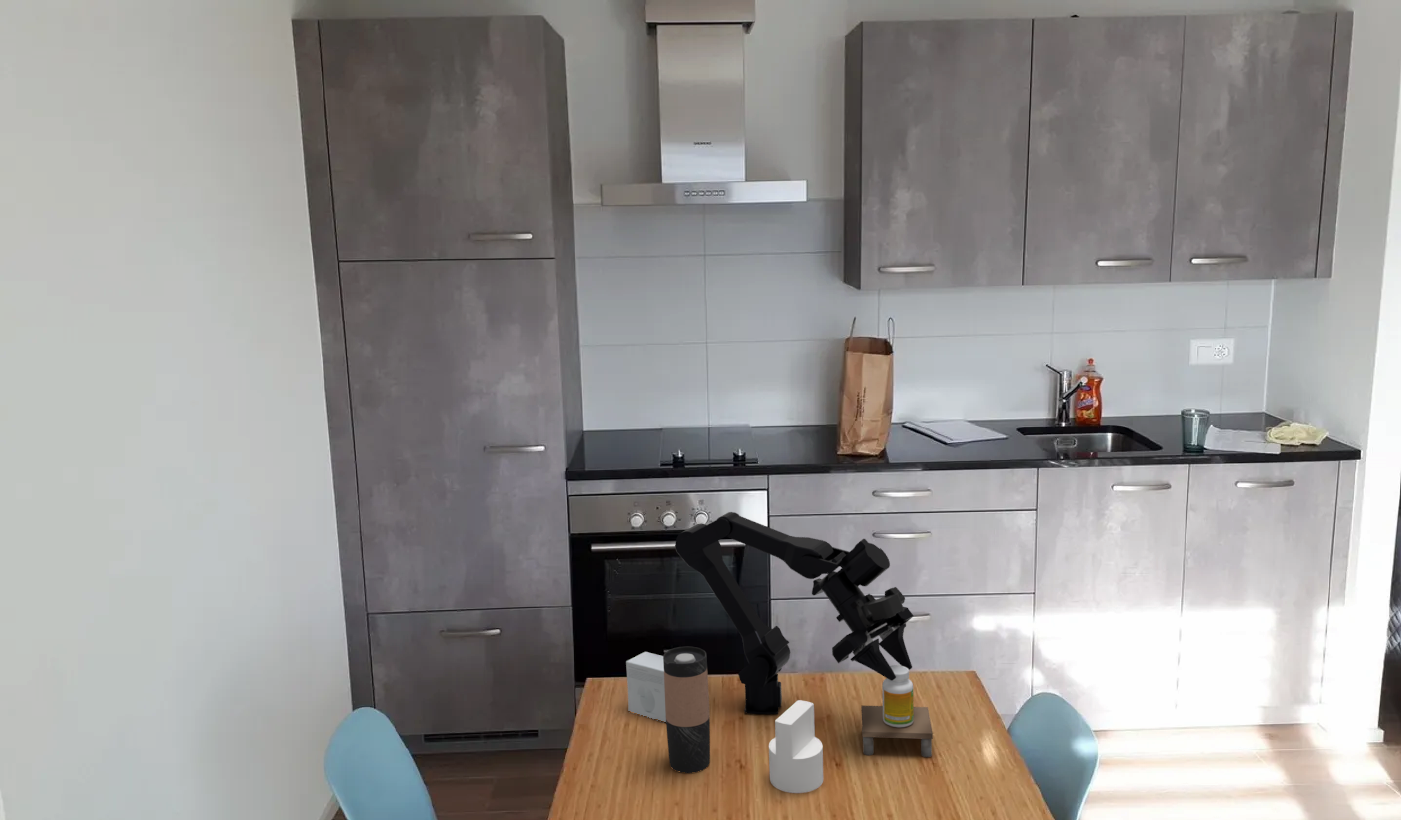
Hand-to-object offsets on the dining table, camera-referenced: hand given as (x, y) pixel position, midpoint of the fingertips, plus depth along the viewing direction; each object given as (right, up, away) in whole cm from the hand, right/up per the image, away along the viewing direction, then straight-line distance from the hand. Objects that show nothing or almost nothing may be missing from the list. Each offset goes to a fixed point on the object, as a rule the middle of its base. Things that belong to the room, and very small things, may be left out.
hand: (902, 674), depth 177 cm
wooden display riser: (0, -13, +3) cm, 14 cm away
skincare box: (-44, -12, +19) cm, 49 cm away
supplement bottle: (0, -9, +2) cm, 9 cm away
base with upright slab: (-19, -16, -7) cm, 26 cm away
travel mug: (-37, -15, -1) cm, 40 cm away
